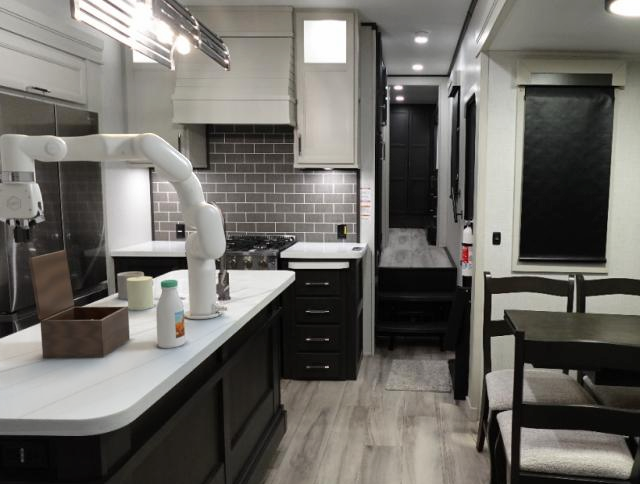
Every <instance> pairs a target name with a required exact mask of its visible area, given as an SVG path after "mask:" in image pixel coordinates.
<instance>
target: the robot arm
mask: <svg viewBox="0 0 640 484" xmlns="http://www.w3.org/2000/svg"><path fill="white" fill-rule="evenodd" d="M35 160H37V161H40V162H43V163H52V162H81V161H82V162H122V161H123V162H124V161H147V160H148V161H149V162H151V163H152V165H154V172H155V174H156V175H157V177H158V178H159V179H161V180H162V181H165V182H168V183H169V184H170V185H172V187H173V188H174V189H175V192H176V194H177V195H176V196H177V198H178V203H179V208H180V213H181V218H182V221H183V223H184V224H185V225H186V226H187V227H189V228H191V229H195V230H196V231H193V232H191V233H190V234H188V235H187V237H186V239H185V242H184V250H185V255H186V261H187V273H188V275H187V276H188V278H187V279H188V305H189V306H188V308H189V310H188V311H186V312H184V318H186V319H190V320H207V319H212V318H213V319H214V318H216V317H219V316H221V315H222V312H228V311H229V306H228V305H227V304H220V301H219V300H218V299H217V267H216V266H217V265H216V260H218V259H220V258H222V256H224V254H225V253H226V249H227V241H226V235H225V230H224V224H223V220H222V216H221V214H220V211H219V210H218V208H217V207H216V206H214V205H213V204H211V203H207V202H206V199H205V195H204V192H203V186H202V184H201V182H200V180H199V178H198V177H197V176H196V174H195V173H194V172H193V169H194V168H193V165H192V163H191V161H190V160H189V159H188V158H187V157H186V156H185V155H183V154H182V153H180V151H178V149H176V148H175V147H173V146H172V145H171V144H170V143H169V142H168V141H166V140H165V139H163V138H162V137H160V136H159V135H157V134H156V133H152V132H146V133H96V134H95V133H94V134H88V135H82V136H55V135H52V134H51V135H50V134H49V135H48V134H47V135H26V134H19V133H18V134H16V133H6V134H5V133H4V134H1V135H0V167H1V173H0V180H1V182H0V222H3V223H6V224H7V225H8V226H9V228H10V229H11V230H12V233H13V239H14V243H15V244H19V243H24V244H28V243H32V242H33V241H34V229H35V226H37V225H38V224H39V223H41V222H44V221H46V217H45V216H44V202H43V198H42V197H43V196H42V192H41V188H40V186H39V183H37V181H36V169H35ZM22 219H23V227H22Z"/></svg>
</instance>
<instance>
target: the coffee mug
mask: <svg viewBox="0 0 640 484" xmlns="http://www.w3.org/2000/svg"><path fill="white" fill-rule="evenodd" d="M116 274H117V275H116V278H117V296H118V297H117V298H118V300H119V299H120V300H128V293H127V279H128V278H132V277H140V276H145V273H144V272H143V271H124V272H119V273H116ZM152 280H153V281H154V279H152Z"/></svg>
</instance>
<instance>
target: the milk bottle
mask: <svg viewBox="0 0 640 484" xmlns="http://www.w3.org/2000/svg"><path fill="white" fill-rule="evenodd" d="M160 289H161V292H160V293H161V294H160V297H159V299H158V301H157V304H156V335H157V336H156V338H157V341H156V342H157V346H158V347H159V348H163V349H171V348H177V347H180V346H183V345H184V344H185V342H186V328H185V327H186V325H185V308H184V303H183V301H182V299H181V297H180V294H179V292H178V280H176V279H164V280H161V282H160Z"/></svg>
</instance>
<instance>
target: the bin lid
mask: <svg viewBox="0 0 640 484" xmlns="http://www.w3.org/2000/svg"><path fill="white" fill-rule="evenodd" d="M28 263H29V268H30V275H31V276H30V277H31V281H32V282H31V283H32V287H33V293H34V300H35V306H36V312H37V318H38V320H44V319H46V318H48V317H51V316H53V315H55V314H58V313H60V312H62V311H64V310H67V309H69V308H71V307H74V306H75V302H74V295H73V288H72V283H71V282H72V281H71V277H70V269H69V263H68V258H67V250H66V249H63V250H58V251H54V252H50V253H46V254H41V255H37V256H34V257H29V258H28Z"/></svg>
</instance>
